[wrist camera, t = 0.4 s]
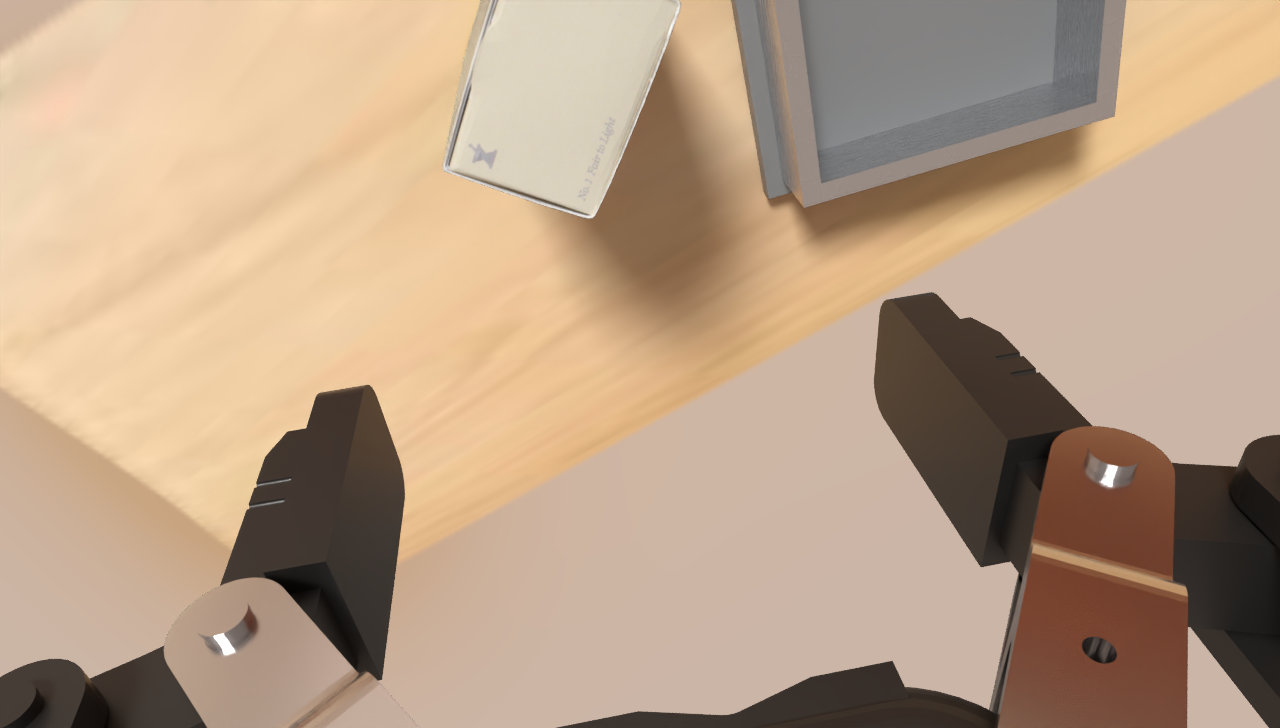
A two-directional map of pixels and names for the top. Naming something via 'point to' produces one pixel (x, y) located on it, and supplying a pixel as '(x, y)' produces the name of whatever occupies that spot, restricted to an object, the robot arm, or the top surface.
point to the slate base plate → (897, 64)
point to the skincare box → (555, 95)
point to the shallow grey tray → (1065, 103)
